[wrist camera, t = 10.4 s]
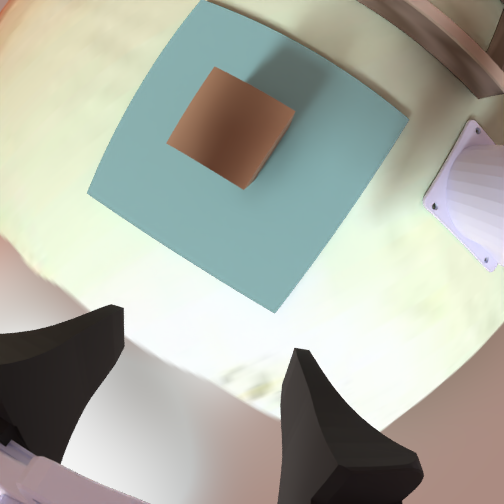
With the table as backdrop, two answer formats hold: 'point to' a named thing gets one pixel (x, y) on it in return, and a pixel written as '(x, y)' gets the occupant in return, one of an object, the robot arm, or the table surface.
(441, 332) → the table surface
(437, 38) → the frame
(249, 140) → the walnut block
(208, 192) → the mat
